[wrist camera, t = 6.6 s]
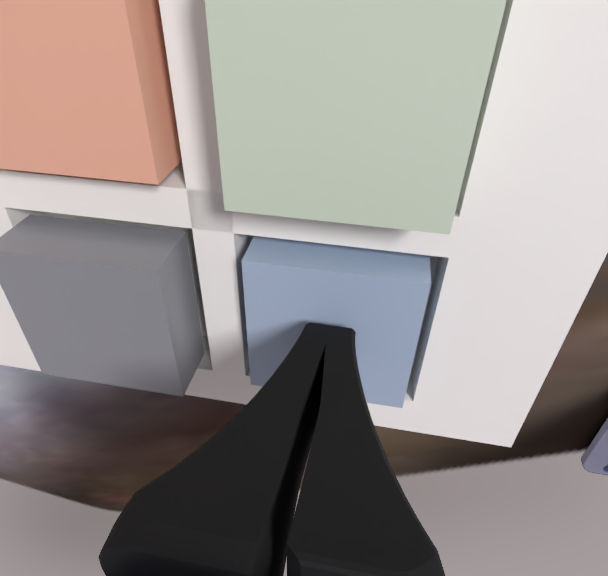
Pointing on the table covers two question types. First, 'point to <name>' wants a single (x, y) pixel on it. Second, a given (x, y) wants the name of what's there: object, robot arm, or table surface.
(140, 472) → the table surface
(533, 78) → the keypad
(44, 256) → the key charcoal
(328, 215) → the key sage
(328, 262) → the key slate
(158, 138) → the key terracotta
